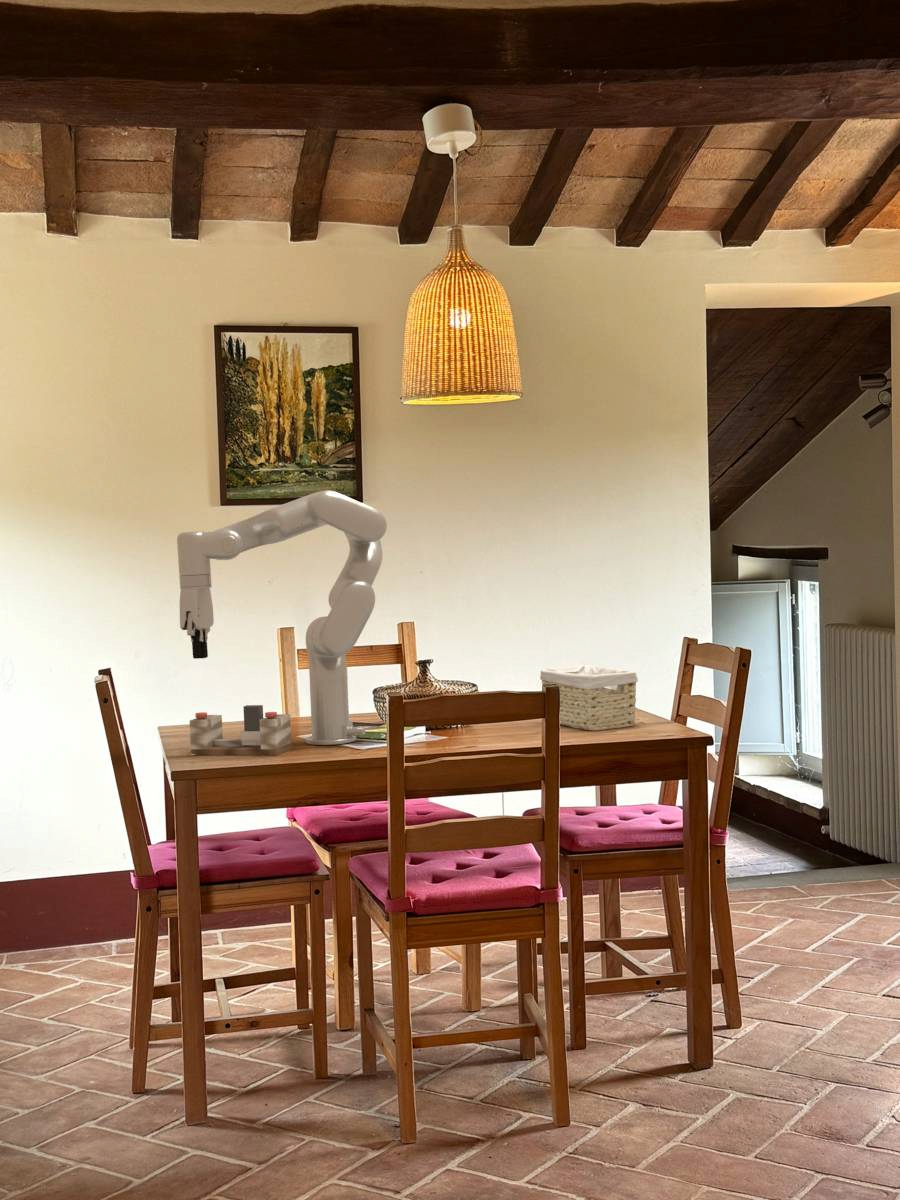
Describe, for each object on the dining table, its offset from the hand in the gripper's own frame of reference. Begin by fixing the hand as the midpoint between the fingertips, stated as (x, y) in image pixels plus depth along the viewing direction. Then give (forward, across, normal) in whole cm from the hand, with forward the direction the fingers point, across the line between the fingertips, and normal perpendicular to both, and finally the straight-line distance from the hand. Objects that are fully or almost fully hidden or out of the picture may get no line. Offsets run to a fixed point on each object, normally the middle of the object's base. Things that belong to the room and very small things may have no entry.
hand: (200, 657), depth 314 cm
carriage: (+22, -2, +12) cm, 25 cm away
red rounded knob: (+16, 0, -1) cm, 16 cm away
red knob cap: (+17, 0, +17) cm, 24 cm away
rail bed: (+24, -2, +8) cm, 25 cm away
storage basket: (+26, -47, +88) cm, 102 cm away
